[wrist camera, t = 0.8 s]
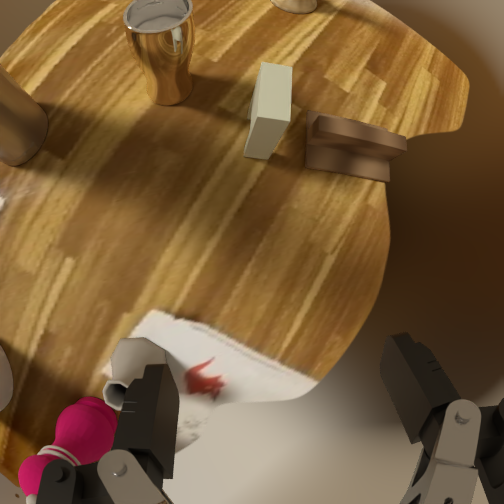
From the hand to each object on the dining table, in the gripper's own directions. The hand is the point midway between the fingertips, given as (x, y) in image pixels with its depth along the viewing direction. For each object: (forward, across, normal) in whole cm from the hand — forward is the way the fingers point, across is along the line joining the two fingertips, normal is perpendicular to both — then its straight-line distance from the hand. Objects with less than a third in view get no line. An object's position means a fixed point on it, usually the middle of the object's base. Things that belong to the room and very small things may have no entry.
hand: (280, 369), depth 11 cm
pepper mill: (+14, +22, +23) cm, 35 cm away
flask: (+18, +15, +18) cm, 29 cm away
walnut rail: (+33, -14, -2) cm, 36 cm away
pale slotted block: (+32, -2, -5) cm, 33 cm away
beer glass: (+35, +8, -12) cm, 38 cm away
